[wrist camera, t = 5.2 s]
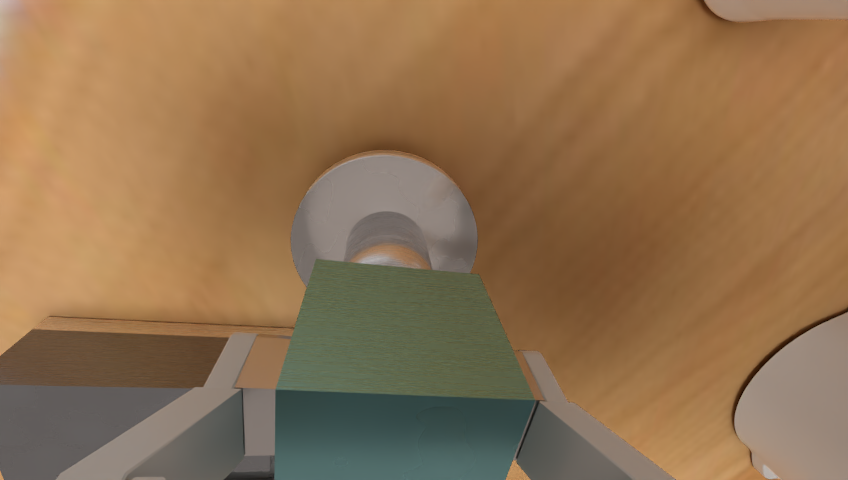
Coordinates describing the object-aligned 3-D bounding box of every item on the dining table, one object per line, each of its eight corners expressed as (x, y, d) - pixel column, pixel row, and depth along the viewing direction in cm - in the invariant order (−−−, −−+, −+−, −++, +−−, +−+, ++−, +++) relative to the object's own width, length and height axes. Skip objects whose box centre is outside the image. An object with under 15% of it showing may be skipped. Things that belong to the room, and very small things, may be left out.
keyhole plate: (469, 336, 24) (490, 394, 20) (425, 504, 30) (435, 574, 26) (48, 316, 20) (-34, 384, 16) (100, 516, 26) (52, 600, 22)
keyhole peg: (489, 163, 15) (655, 330, 6) (454, 315, 18) (529, 583, 9) (298, 136, 14) (148, 293, 5) (293, 303, 17) (192, 596, 8)
